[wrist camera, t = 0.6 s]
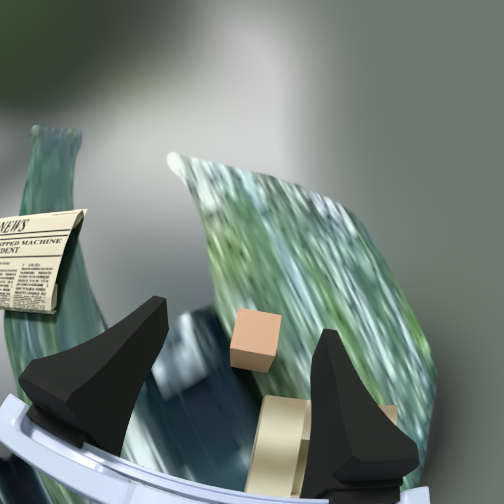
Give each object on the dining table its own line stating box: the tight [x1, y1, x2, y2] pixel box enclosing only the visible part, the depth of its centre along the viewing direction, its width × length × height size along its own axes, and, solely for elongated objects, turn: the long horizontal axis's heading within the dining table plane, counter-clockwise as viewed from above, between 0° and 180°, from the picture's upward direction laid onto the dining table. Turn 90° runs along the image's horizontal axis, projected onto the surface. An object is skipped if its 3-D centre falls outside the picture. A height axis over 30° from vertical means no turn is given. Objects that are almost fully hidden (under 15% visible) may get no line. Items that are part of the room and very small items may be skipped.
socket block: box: [244, 395, 398, 498], centre depth 23 cm, size 14×14×4 cm
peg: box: [230, 308, 282, 373], centre depth 29 cm, size 4×4×7 cm
